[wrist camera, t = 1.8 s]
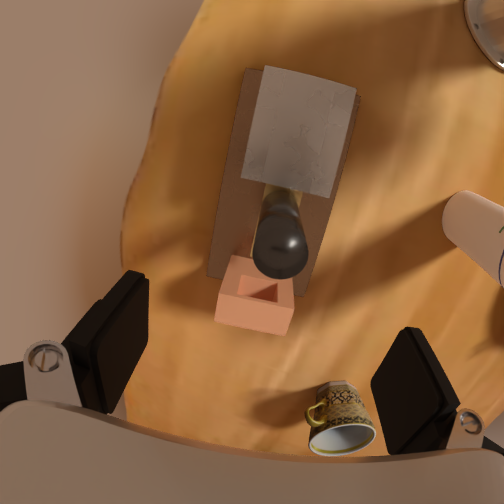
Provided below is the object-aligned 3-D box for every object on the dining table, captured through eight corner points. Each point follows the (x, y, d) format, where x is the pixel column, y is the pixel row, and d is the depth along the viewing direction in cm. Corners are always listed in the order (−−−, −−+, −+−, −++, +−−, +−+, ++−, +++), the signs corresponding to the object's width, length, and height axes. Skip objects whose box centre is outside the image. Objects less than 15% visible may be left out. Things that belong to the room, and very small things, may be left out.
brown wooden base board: (246, 69, 27) (234, 48, 18) (358, 97, 27) (389, 87, 19) (208, 272, 37) (188, 316, 28) (303, 292, 37) (309, 342, 28)
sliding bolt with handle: (289, 80, 22) (298, 45, 12) (323, 89, 23) (359, 62, 12) (252, 243, 29) (237, 318, 18) (283, 250, 29) (285, 328, 18)
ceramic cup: (375, 388, 44) (388, 435, 35) (331, 416, 47) (336, 461, 38) (328, 355, 41) (336, 408, 32) (280, 387, 44) (279, 438, 35)
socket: (231, 254, 35) (218, 293, 27) (291, 267, 35) (294, 309, 27) (226, 279, 36) (213, 321, 28) (284, 291, 36) (285, 336, 28)
